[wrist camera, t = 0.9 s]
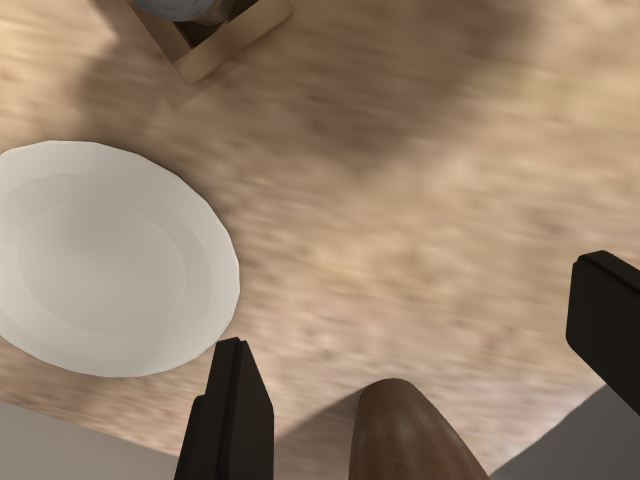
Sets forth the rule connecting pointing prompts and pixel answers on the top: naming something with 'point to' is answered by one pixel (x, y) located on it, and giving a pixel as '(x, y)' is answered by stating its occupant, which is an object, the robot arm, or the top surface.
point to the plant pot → (406, 438)
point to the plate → (109, 261)
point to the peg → (189, 10)
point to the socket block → (213, 37)
